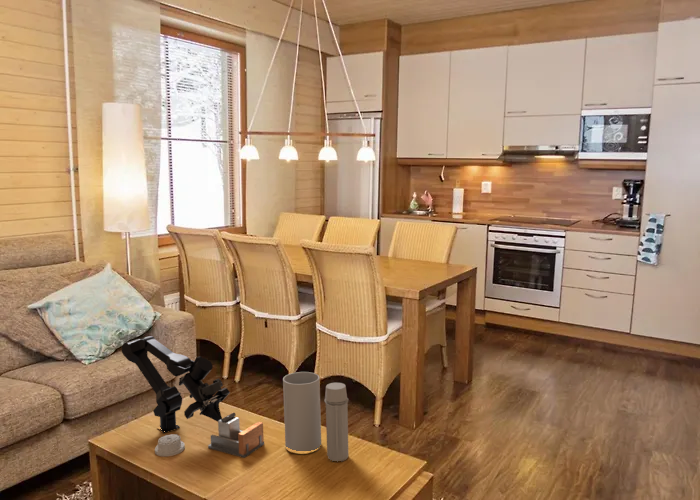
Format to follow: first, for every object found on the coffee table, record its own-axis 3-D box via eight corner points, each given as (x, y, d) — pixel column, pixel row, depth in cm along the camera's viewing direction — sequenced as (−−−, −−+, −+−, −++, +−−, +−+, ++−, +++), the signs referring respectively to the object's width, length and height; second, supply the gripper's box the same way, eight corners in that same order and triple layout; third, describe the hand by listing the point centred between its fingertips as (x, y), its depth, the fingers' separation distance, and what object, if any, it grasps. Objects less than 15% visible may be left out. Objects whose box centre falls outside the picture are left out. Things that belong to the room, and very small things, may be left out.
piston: (218, 443, 197) (217, 417, 196) (229, 436, 203) (228, 411, 201) (229, 445, 195) (228, 420, 194) (240, 438, 200) (239, 413, 199)
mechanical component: (149, 456, 192) (175, 458, 190) (148, 443, 192) (175, 446, 190) (164, 442, 202) (189, 444, 200) (163, 431, 201) (189, 433, 199)
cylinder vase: (328, 443, 198) (326, 375, 195) (307, 458, 187) (305, 386, 184) (299, 436, 204) (297, 369, 201) (278, 450, 194) (275, 380, 191)
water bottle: (326, 452, 191) (324, 382, 188) (349, 452, 191) (347, 381, 188) (325, 466, 182) (323, 392, 179) (349, 465, 182) (348, 391, 179)
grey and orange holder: (208, 448, 196) (207, 426, 196) (229, 435, 206) (228, 414, 205) (244, 457, 189) (243, 435, 188) (264, 444, 198) (263, 422, 198)
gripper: (188, 382, 192) (214, 418, 188) (224, 366, 208) (249, 399, 204) (172, 400, 197) (198, 436, 193) (209, 383, 213) (234, 416, 209)
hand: (221, 421), depth 200 cm, fingers closed
